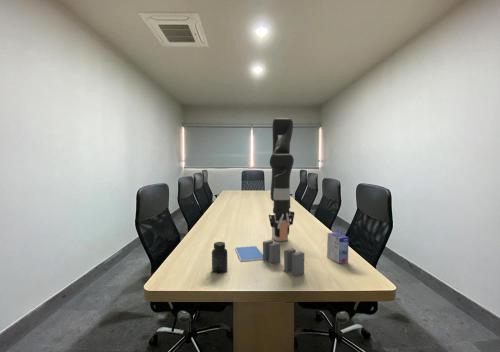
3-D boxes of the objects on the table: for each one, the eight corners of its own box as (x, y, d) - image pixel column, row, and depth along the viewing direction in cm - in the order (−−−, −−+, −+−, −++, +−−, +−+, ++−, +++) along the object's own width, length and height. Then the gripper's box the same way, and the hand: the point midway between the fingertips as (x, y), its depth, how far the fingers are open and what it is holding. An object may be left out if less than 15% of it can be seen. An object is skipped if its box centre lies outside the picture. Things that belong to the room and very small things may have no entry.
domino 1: (262, 260, 115) (262, 241, 115) (270, 257, 118) (270, 239, 118) (265, 261, 113) (265, 242, 113) (273, 259, 116) (273, 240, 116)
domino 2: (269, 263, 111) (269, 244, 111) (277, 260, 114) (277, 242, 113) (272, 264, 109) (272, 245, 109) (280, 262, 112) (280, 243, 112)
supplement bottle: (216, 266, 108) (216, 240, 108) (230, 268, 106) (229, 241, 105) (208, 272, 102) (208, 244, 101) (223, 274, 99) (222, 246, 99)
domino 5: (292, 275, 99) (292, 253, 98) (300, 272, 101) (300, 251, 101) (295, 276, 97) (295, 255, 97) (304, 273, 100) (304, 252, 99)
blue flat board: (234, 249, 132) (234, 247, 132) (256, 247, 135) (256, 245, 134) (240, 263, 113) (240, 260, 113) (265, 260, 116) (265, 258, 116)
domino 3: (276, 240, 106) (276, 220, 106) (284, 238, 109) (284, 218, 109) (279, 241, 105) (279, 221, 104) (287, 239, 108) (287, 219, 107)
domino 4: (284, 270, 103) (284, 250, 102) (292, 268, 106) (292, 248, 105) (287, 272, 101) (287, 251, 101) (295, 269, 104) (295, 249, 104)
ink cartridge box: (349, 263, 110) (349, 232, 110) (339, 264, 109) (339, 233, 109) (336, 255, 120) (336, 227, 120) (326, 256, 119) (326, 228, 118)
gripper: (287, 196, 114) (287, 231, 114) (264, 198, 105) (264, 236, 106) (299, 197, 107) (299, 234, 108) (275, 200, 99) (275, 240, 100)
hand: (282, 235), depth 107 cm, fingers closed on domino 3, 5 cm apart
